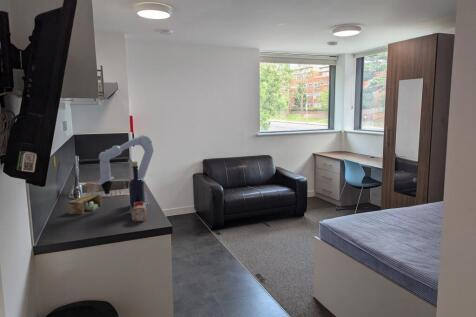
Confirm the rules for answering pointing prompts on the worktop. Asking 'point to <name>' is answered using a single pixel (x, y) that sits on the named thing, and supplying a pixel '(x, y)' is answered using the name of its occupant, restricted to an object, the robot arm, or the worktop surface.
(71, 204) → the wooden arch bridge
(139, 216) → the food item
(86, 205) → the tray
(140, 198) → the bottle
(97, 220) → the worktop surface
